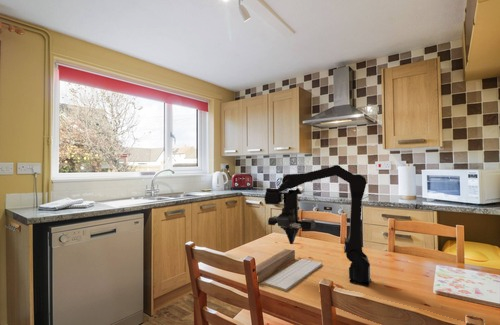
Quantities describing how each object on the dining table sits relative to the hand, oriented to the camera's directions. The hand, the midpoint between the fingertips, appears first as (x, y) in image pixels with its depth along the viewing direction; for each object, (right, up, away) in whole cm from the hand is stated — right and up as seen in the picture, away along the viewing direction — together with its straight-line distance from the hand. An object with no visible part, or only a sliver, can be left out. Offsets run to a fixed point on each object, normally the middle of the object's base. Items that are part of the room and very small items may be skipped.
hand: (291, 243), depth 104 cm
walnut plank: (-7, -12, +6) cm, 15 cm away
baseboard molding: (+1, -13, 0) cm, 13 cm away
